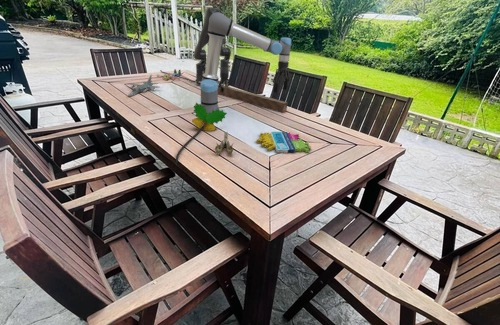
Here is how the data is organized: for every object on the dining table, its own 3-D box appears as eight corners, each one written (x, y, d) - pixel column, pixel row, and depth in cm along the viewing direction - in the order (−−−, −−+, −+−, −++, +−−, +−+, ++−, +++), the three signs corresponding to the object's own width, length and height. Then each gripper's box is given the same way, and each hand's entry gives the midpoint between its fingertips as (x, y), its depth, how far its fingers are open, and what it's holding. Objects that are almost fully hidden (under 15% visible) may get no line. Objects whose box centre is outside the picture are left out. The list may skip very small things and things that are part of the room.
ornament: (218, 133, 171) (224, 110, 169) (221, 134, 163) (227, 111, 161) (186, 125, 162) (192, 101, 160) (189, 126, 155) (195, 101, 153)
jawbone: (234, 135, 144) (233, 125, 135) (233, 160, 138) (232, 151, 129) (217, 135, 144) (216, 125, 135) (216, 160, 138) (214, 150, 129)
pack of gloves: (313, 150, 142) (258, 149, 139) (312, 153, 143) (258, 152, 140) (301, 132, 164) (254, 130, 161) (301, 134, 165) (254, 133, 162)
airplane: (122, 86, 238) (120, 75, 233) (157, 84, 251) (156, 73, 246) (126, 99, 210) (124, 86, 204) (166, 95, 223) (165, 83, 218)
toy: (189, 70, 290) (176, 74, 264) (189, 77, 293) (177, 81, 267) (166, 67, 295) (151, 71, 269) (167, 74, 298) (152, 78, 272)
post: (286, 111, 205) (287, 102, 202) (283, 112, 202) (284, 103, 198) (221, 92, 242) (221, 84, 238) (217, 93, 238) (217, 85, 235)
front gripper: (288, 59, 199) (284, 87, 210) (269, 61, 182) (266, 92, 192) (296, 60, 196) (292, 89, 206) (278, 63, 178) (275, 94, 188)
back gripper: (226, 70, 234) (226, 89, 243) (215, 72, 224) (215, 92, 233) (233, 72, 230) (232, 91, 239) (221, 73, 220) (221, 93, 229)
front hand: (280, 90), depth 199 cm, fingers open, 13 cm apart
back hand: (224, 91), depth 236 cm, fingers closed on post, 5 cm apart
